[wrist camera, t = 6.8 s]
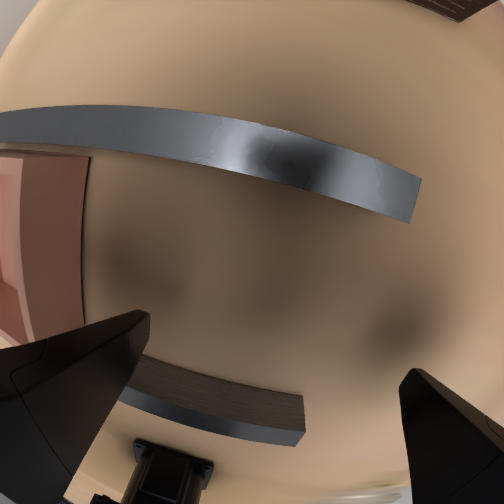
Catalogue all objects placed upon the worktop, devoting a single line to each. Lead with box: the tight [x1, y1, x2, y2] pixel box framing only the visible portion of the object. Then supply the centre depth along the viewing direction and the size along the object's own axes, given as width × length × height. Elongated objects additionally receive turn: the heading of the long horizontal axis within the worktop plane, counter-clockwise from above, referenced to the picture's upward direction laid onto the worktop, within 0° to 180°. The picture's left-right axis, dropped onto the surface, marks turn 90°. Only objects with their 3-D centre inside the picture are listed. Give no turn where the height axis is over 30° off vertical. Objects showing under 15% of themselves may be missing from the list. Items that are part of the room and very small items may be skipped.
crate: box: [0, 149, 89, 346], centre depth 9 cm, size 9×8×4 cm
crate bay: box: [0, 105, 422, 447], centre depth 10 cm, size 13×23×2 cm, turn 76°
